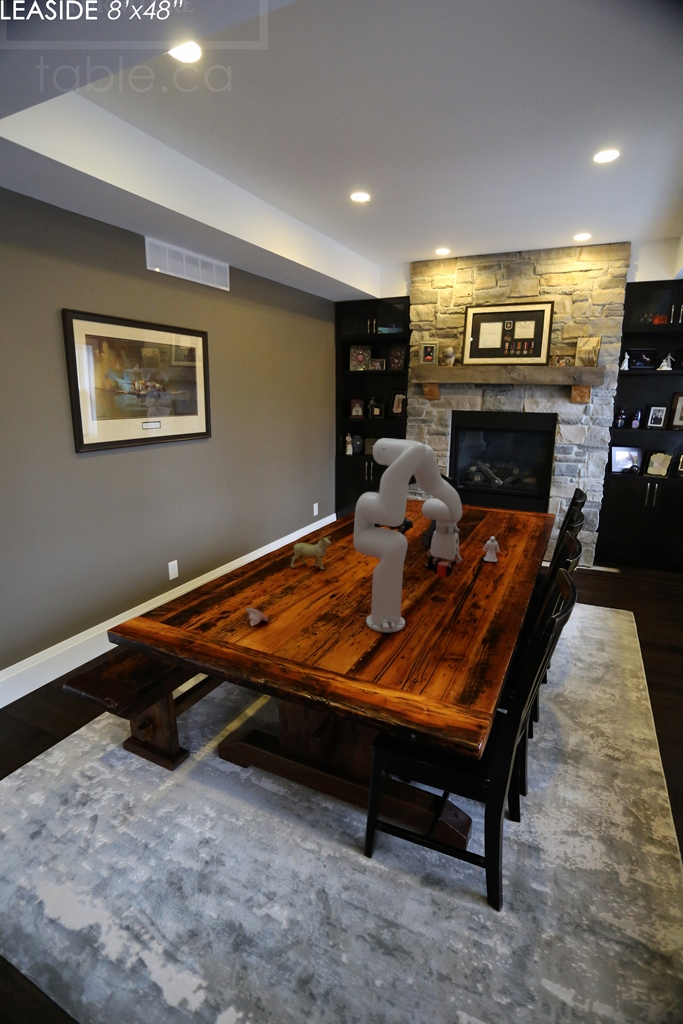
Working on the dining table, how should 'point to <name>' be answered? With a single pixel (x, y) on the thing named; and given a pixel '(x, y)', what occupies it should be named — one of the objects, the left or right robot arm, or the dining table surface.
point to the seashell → (255, 616)
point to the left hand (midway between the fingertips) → (442, 574)
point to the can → (442, 569)
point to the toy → (311, 551)
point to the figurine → (491, 550)
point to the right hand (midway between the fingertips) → (388, 544)
